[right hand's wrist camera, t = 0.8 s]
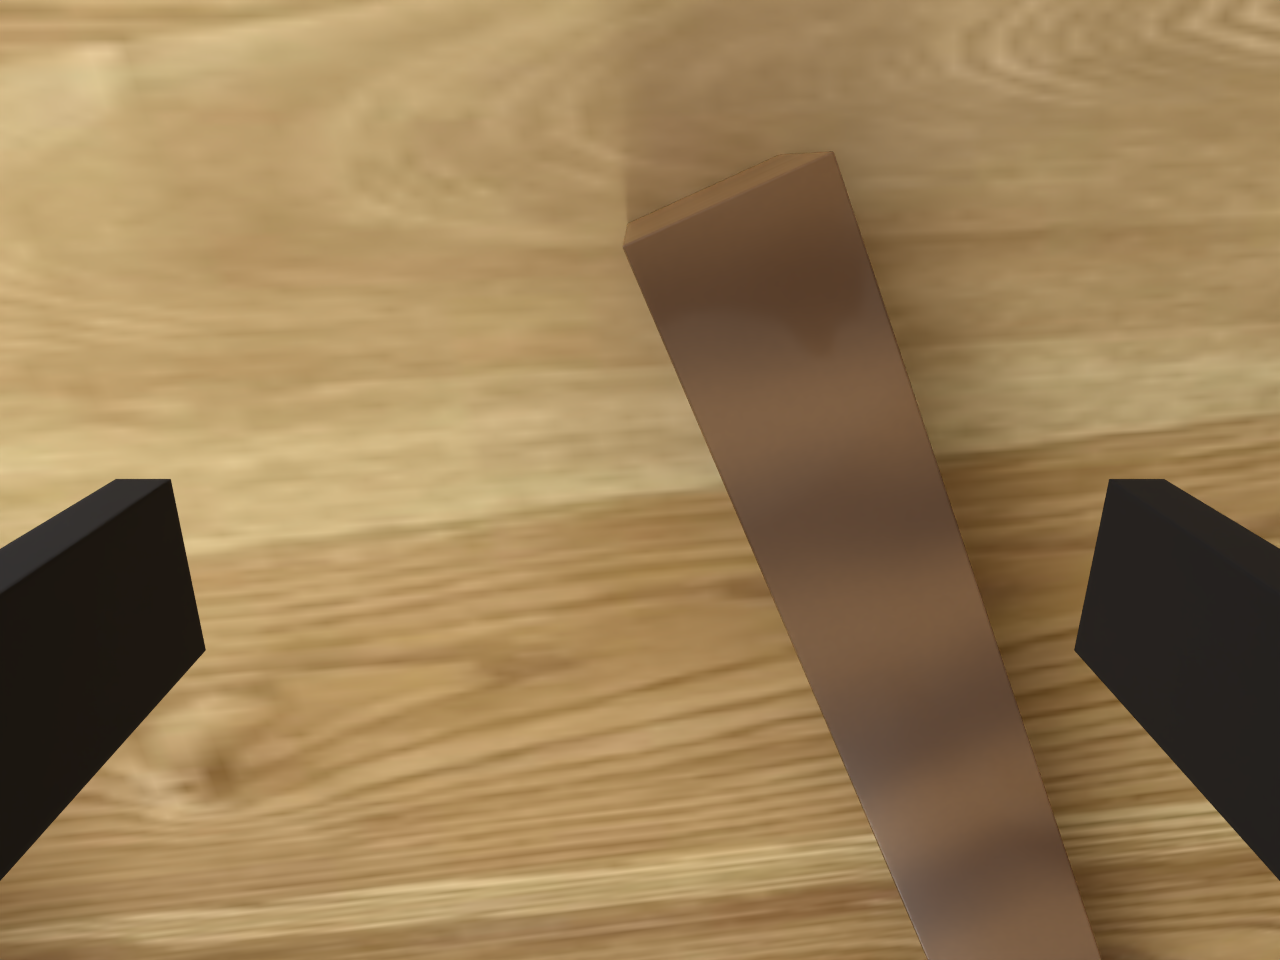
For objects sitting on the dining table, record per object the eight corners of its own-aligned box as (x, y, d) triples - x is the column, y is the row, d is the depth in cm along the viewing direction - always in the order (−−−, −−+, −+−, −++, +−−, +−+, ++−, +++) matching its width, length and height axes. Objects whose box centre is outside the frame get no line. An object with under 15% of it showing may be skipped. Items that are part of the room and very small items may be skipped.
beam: (626, 224, 28) (621, 245, 20) (781, 153, 27) (833, 150, 20) (1062, 1254, 47) (1141, 1458, 39) (1160, 1230, 46) (1259, 1433, 39)
